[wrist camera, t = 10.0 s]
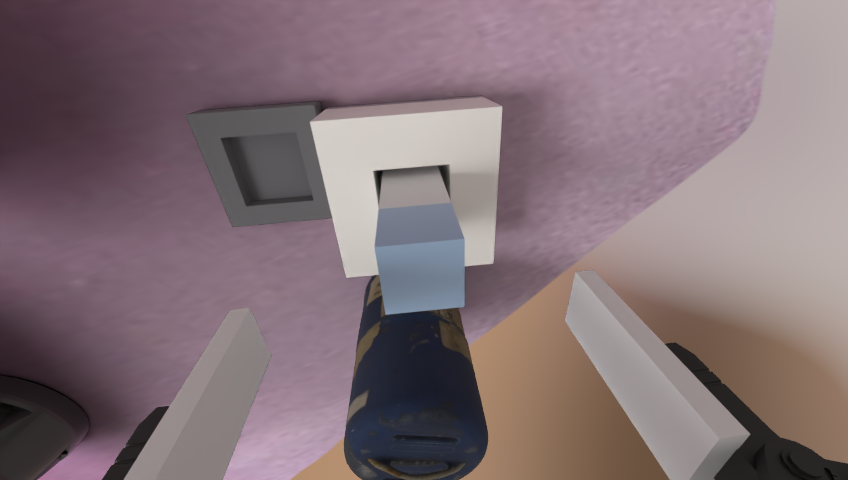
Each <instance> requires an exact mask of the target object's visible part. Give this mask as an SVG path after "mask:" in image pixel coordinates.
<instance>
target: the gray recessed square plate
mask: <svg viewBox="0 0 848 480" xmlns="http://www.w3.org/2000/svg"><path fill="white" fill-rule="evenodd" d="M321 112H322V109H321V105H320V101H315V102H302V103H289V104H276V105H263V106H250V107H237V108H224V109H212V110H200V111H196V112H193V113H190V114H186V117H187V120H188V122H189V125H190V127H191V129H192V132H193V134H194V137H195V139H196V141H197V144H198V146H199V149H200V151H201V153H202V156H203V158H204V161H205V163H206V165H207V168H208V170H209V173H210V175H211V177H212V180H213V182H214V184H215V187H216V189H217V192H218V194H219V196H220V199H221V201H222V204H223V206H224V208H225V211H226V213H227V216H228V218H229V220H230V223H231V225H232V227H239V226H251V225H262V224H273V223H284V222H295V221H306V220H317V219H328V218H332V215H331V211H330V206H329V202H328V198H327V194H326V189H325V185H324V181H323V176H322V172H321V168H320V164H319V159H318V155H317V151H316V146H315V142H314V138H313V134H312V129H311V125H310V121H311V120H313V119H314V118H315V117H316V116H318V115H319V114H320V113H321Z"/></svg>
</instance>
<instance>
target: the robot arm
mask: <svg viewBox="0 0 848 480" xmlns="http://www.w3.org/2000/svg"><path fill="white" fill-rule="evenodd" d="M565 322H566V323H567V325H568V326H569V328H570V329H571V331H572V332H573V334H574V336H575V337H576V339H577V340H578V342H579V343H580V345H581V346H582V348H583V349H584V351H585V352H586V354H587V355H588V357H589V358H590V360H591V361H592V363H593V364H594V366H595V367H596V369H597V370H598V372H599V373H600V375H601V376H602V378H603V379H604V381H605V382H606V384H607V385H608V387H609V388H610V390H611V391H612V393H613V394H614V396H615V397H616V399H617V400H618V402H619V403H620V405H621V406H622V408H623V409H624V411H625V412H626V414H627V416H628V417H629V419H630V420H631V421H632V423H633V424H634V426H635V428H636V429H637V431H638V432H639V434H640V435H641V437H642V438H643V439H644V441H645V443H646V444H647V446H648V447H649V449H650V450H651V452H652V453H653V455H654V456H655V458H656V459H657V461H658V462H659V464H660V465H661V467H662V468H663V469H664V471H665V473H666V474H667V476H668V477H669V479H670V480H714V479H715V480H848V464H847V463H841V462H836V461H830V460H826V459H824V458H822V457H821V456H819V455H818V454H817V453H815V452H814V451H812V450H811V449H809V448H807V447H805V446H803V445H801V444H799V443H797V442H795V441H791V440H787V439H784V438H780V437H779V436H778V435H777V434H775V433H774V432H773V431H772V430H771V429H770V428H769V427H768V426H767V425H766V424H765V423H764V422H762V420H760V418H759V417H758V416H756V414H754V413H753V412H752V411H751V410H750V409H749V408H748V407H747V406H746V405H745V404H744V403H743V402H742V401H741V400H740V399H739V398H738V397H737V396H736V395H735V394H734V393H733V392H732V391H731V390H730V389H729V388H728V387H727V386H726V385H725V384H722V383H721V380H720V379H719V378H718V377H717V376H716V375H714V374H713V372H710V371H709V369H708V368H707V367H706V366H705V365H704V364H703V363H702V362H701V361H700V360H699V359H698V358H697V357H696V356H695V355H694V354H693V353H691V352H690V351H688V350H686V349H685V348H683V347H682V346H680V345H678V344H677V343H668V344H664V343H663V342H662V341H661V340H660V339H659V338H658V337H657V336H656V335H655V334H654V333H653V332H652V331H651V330H650V328H649V327H647V326H646V324H645V323H644V322H643V321H642V320H641V319H640V318H639V317H638V316H637V315H636V314H635V313H634V312H633V311H632V310H631V309H630V308H629V307H628V305H627V304H626V303H625V302H624V301H623V300H622V299H621V298H620V297H619V296H618V295H617V294H616V293H615V292H614V291H613V290H612V289H611V288H610V287H609V286H608V285H607V283H606V282H605V281H604V280H602V278H601V277H600V276H599V275H598V274H597V273H596V272H595V271H594V270H588V271H579V272H575V277H574V281H573V285H572V290H571V295H570V299H569V304H568V309H567V313H566V318H565ZM271 356H272V355H271V353H270V351H269V349H268V347H267V344H266V342H265V340H264V338H263V335H262V333H261V331H260V329H259V326H258V324H257V322H256V320H255V318H254V315H253V313H252V311H251V309H250V308H242V309H233V310H230V311H229V312H228V314H227V315H226V317H225V319H224V320H223V322H222V323H221V325H220V327H219V328H218V330H217V331H216V333H215V335H214V336H213V338H212V339H211V341H210V343H209V344H208V346H207V347H206V349H205V351H204V352H203V354H202V355H201V357H200V359H199V360H198V362H197V363H196V365H195V367H194V368H193V370H192V371H191V373H190V375H189V376H188V378H187V379H186V381H185V383H184V384H183V386H182V387H181V389H180V390H179V392H178V394H177V395H176V397H175V398H174V400H173V402H172V403H171V405H170V406H165V407H157V408H156V409H155V410H154V411H153V412H152V413H151V414H150V415H149V416H148V417H147V418H146V419H145V420H144V421H143V422H142V423H141V424H140V425H139V426H138V427H137V429H136V430H135V432H134V433H133V435H132V436H131V438H130V439H129V440H128V442H127V443H126V447H125V448H123V449H122V451H121V452H120V454H119V455H118V457H117V458H116V460H115V464H114V465H112V466H111V467H110V469H109V470H108V471H107V473H106V474H105V476H104V477H103V479H102V480H223V478H224V475H225V473H226V470H227V468H228V465H229V462H230V460H231V457H232V455H233V452H234V450H235V447H236V445H237V442H238V440H239V437H240V434H241V432H242V429H243V427H244V424H245V422H246V419H247V417H248V414H249V412H250V409H251V406H252V404H253V401H254V399H255V396H256V394H257V391H258V389H259V386H260V384H261V381H262V378H263V376H264V373H265V371H266V368H267V366H268V363H269V361H270V358H271ZM88 430H89V421H88V418H87V416H86V415H85V413H84V412H83V411H82V410H81V408H80V407H78V406H77V405H76V404H75V403H74V402H72V401H71V400H69V399H68V398H66V397H65V396H63V395H61V394H59V393H57V392H55V391H53V390H51V389H49V388H46V387H44V386H41V385H38V384H35V383H32V382H29V381H25V380H21V379H17V378H12V377H7V376H0V480H37V479H38V478H40V477H41V476H42V475H44V474H45V473H46V472H47V471H49V470H50V469H51V468H52V467H53V466H55V465H56V464H57V463H58V462H59V461H61V460H62V459H64V458H65V457H66V456H68V455H69V454H70V453H71V452H72V451H73V450H74V449H75V448H76V446H77V445H78V444H79V443H80V441H81V440H82V439H83V438H84V437H85V435H86V434H87V433H88Z"/></svg>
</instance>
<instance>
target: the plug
mask: <svg viewBox="0 0 848 480" xmlns="http://www.w3.org/2000/svg"><path fill="white" fill-rule="evenodd" d="M374 248H375V254H376V260H377V266H378V272H379V278H380V284H381V290H382V296H383V302H384V308H385V314H386V315H388V314H398V313H408V312H418V311H428V310H438V309H448V308H458V307H465V238H464V236H463V233H462V230H461V228H460V225H459V222H458V220H457V217H456V214H455V211H454V209H453V206H452V203H451V201H450V198H449V195H448V193H447V190H446V187H445V185H444V182H443V179H442V177H441V174H440V171H439V168H438V166H437V165H434V166H423V167H411V168H399V169H388V170H383V174H382V183H381V192H380V201H379V210H378V219H377V228H376V237H375V246H374Z"/></svg>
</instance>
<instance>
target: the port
mask: <svg viewBox="0 0 848 480" xmlns="http://www.w3.org/2000/svg"><path fill="white" fill-rule="evenodd" d="M501 124H502V106H501V105H499V104H496V103H494V102H492V101H490V100H488V99H486V98H484V97H482V96H469V97H457V98H444V99H431V100H418V101H405V102H393V103H380V104H367V105H354V106H341V107H329V108H327V109H325V110H324V111H323V112H321V113H320V114H319V115H318V116H316V117H315V118H314V119H313V120H311V121H310V125H311V129H312V134H313V138H314V142H315V146H316V151H317V155H318V159H319V164H320V168H321V172H322V176H323V181H324V185H325V189H326V194H327V198H328V202H329V206H330V211H331V215H332V219H333V223H334V228H335V232H336V236H337V241H338V245H339V249H340V253H341V258H342V262H343V266H344V271H345V275H346V278H350V277H360V276H371V275H379V272H378V266H377V260H376V254H375V248H374V246H375V237H376V228H377V219H378V210H379V201H380V192H381V183H382V174H383V170H388V169H399V168H411V167H423V166H434V165H437V166H438V168H439V171H440V174H441V177H442V179H443V182H444V185H445V187H446V190H447V193H448V195H449V198H450V201H451V203H452V206H453V209H454V211H455V214H456V217H457V220H458V222H459V225H460V228H461V230H462V233H463V236H464V238H465V266H474V265H485V264H493V261H494V244H495V227H496V210H497V192H498V175H499V158H500V141H501Z"/></svg>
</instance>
